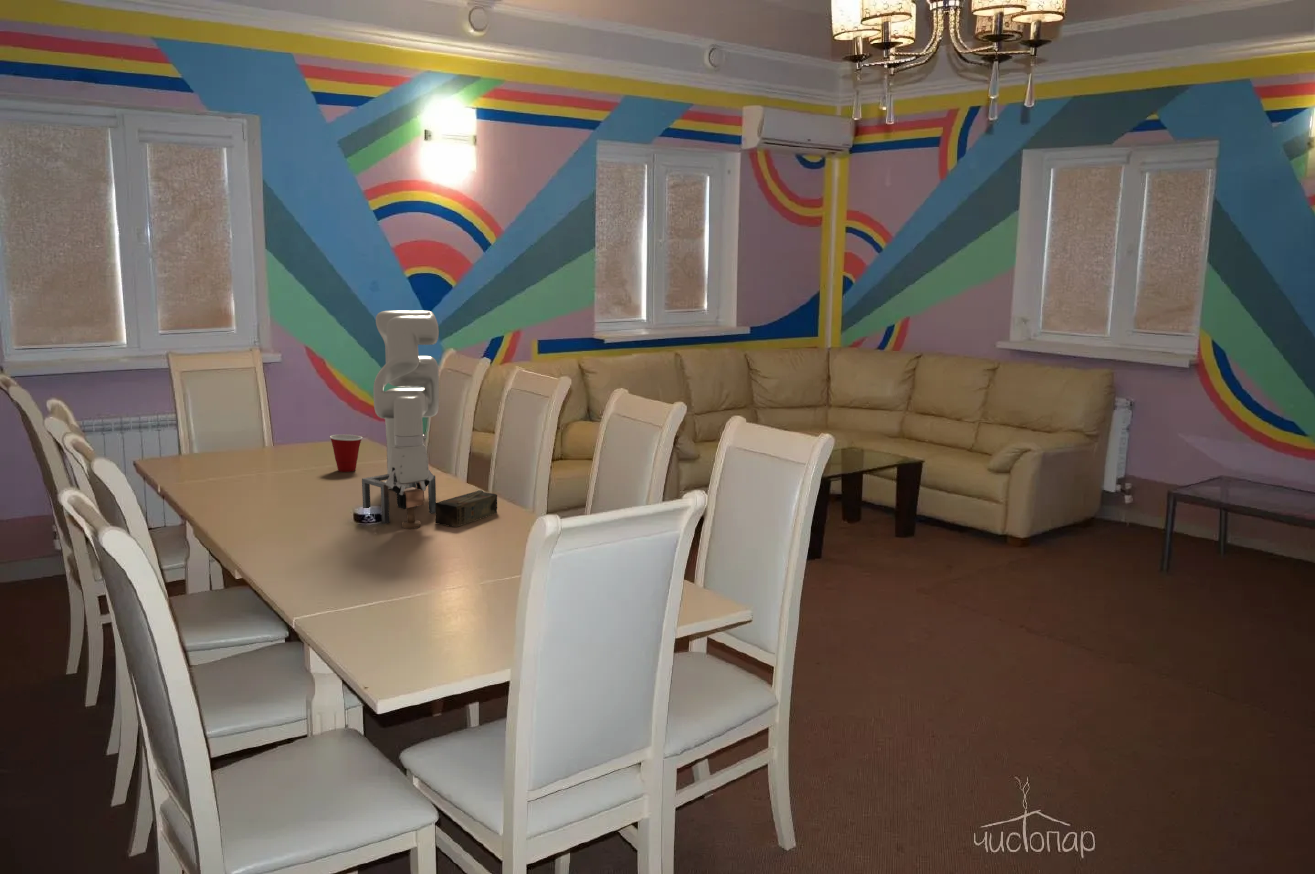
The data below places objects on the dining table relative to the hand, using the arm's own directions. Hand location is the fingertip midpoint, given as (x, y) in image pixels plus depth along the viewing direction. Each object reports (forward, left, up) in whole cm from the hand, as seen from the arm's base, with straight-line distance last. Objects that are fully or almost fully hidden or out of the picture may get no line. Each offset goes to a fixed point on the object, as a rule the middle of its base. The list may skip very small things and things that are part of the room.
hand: (410, 505), depth 276 cm
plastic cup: (-26, -76, -6) cm, 81 cm away
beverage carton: (-16, +3, -6) cm, 18 cm away
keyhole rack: (-5, -13, -6) cm, 15 cm away
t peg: (0, 0, -6) cm, 6 cm away
